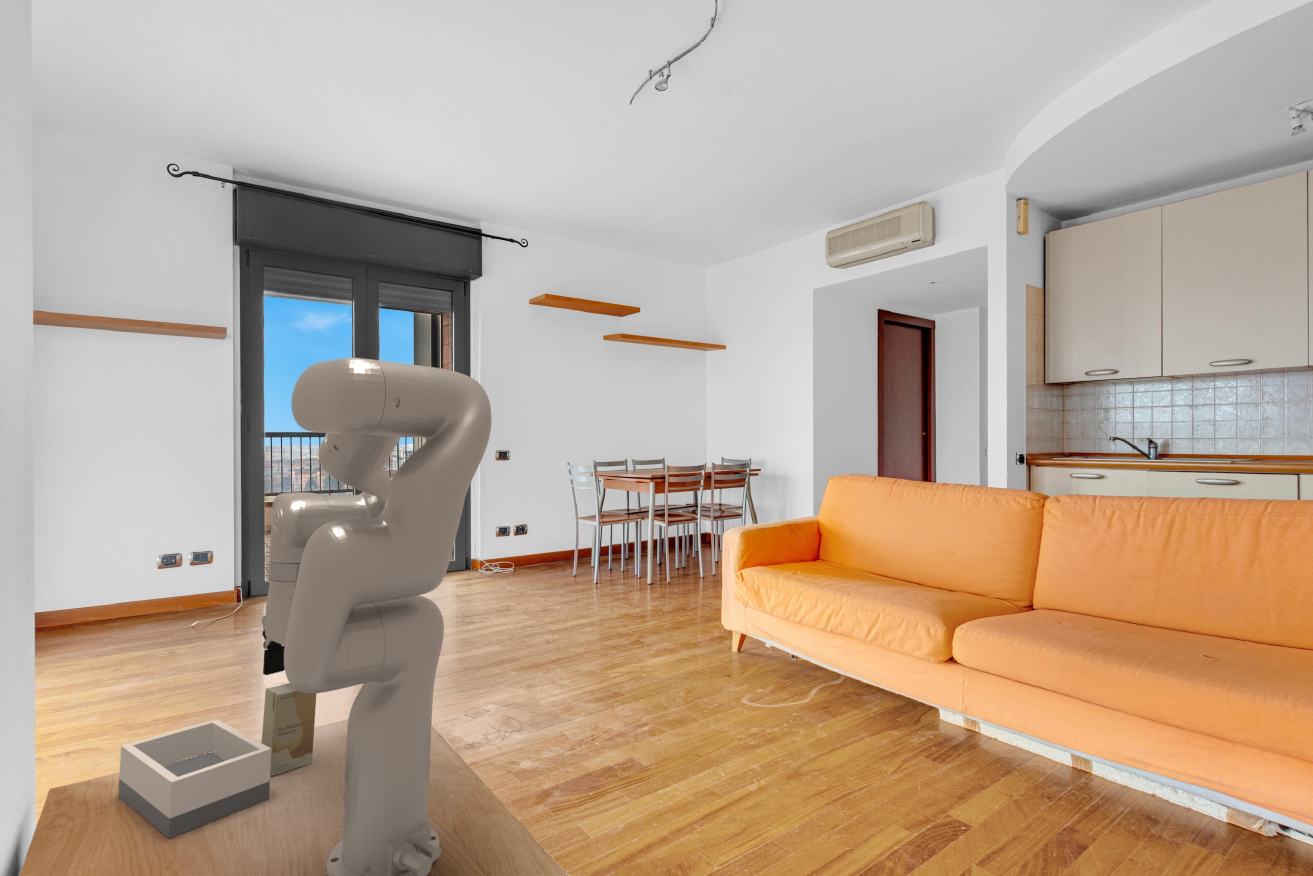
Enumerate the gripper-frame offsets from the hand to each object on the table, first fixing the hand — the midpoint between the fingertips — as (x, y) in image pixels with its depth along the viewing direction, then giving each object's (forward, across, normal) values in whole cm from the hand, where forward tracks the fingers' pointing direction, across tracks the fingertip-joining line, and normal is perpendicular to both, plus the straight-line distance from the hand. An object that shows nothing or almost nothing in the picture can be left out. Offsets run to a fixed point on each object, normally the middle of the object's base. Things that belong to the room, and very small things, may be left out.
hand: (289, 680), depth 102 cm
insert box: (+13, 0, +13) cm, 18 cm away
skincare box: (+13, -1, 0) cm, 13 cm away
